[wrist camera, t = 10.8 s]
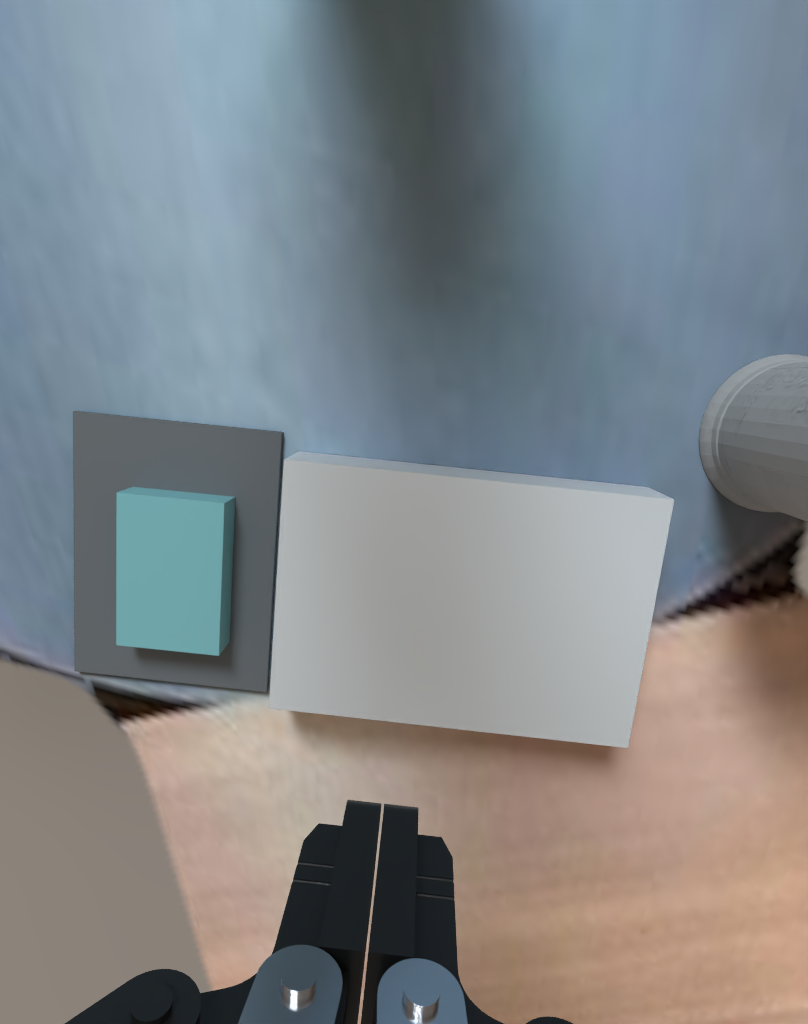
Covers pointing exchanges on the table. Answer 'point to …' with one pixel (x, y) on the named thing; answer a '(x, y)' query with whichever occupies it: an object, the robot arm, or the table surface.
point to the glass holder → (760, 436)
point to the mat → (187, 468)
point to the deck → (464, 597)
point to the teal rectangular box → (174, 570)
